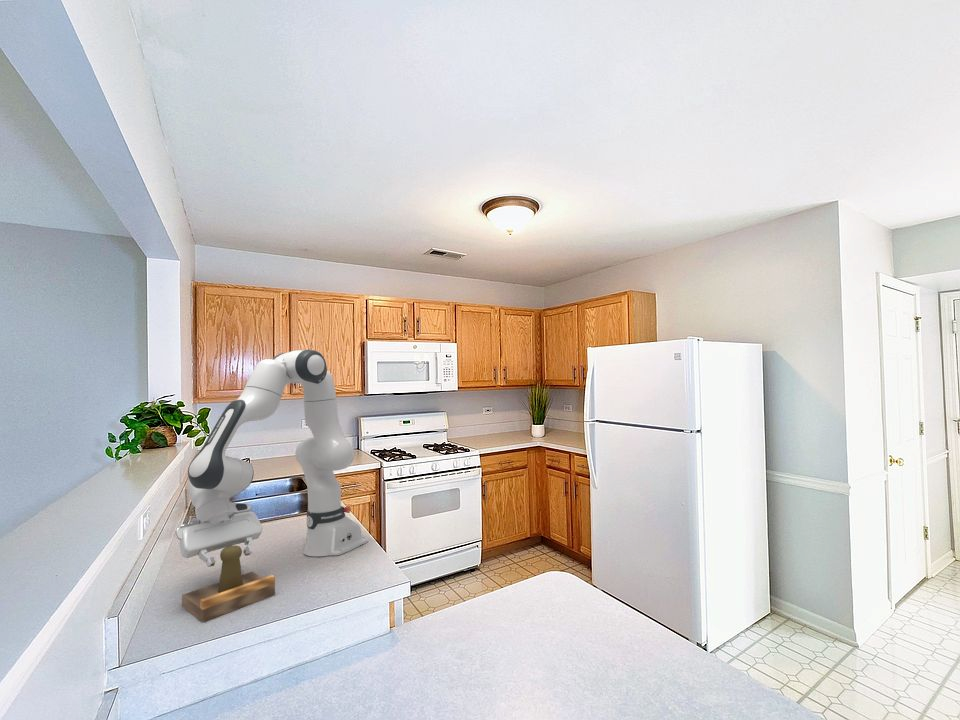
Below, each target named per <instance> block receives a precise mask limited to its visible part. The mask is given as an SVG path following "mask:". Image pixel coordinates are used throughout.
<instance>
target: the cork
mask: <svg viewBox="0 0 960 720" xmlns="http://www.w3.org/2000/svg"><path fill="white" fill-rule="evenodd" d="M242 554H243V550H242V547H241V546H240V545H233V546H229V547H225V548H222V549H221V551H220V554H219V557H220V558H219V559H220V561H222V562H221V569H220V576H219V582H218V583H219V588H218V592H219V593H221V592H224V591H227V590H230V589H233V588H235V587H238V586H241V585H243V579H242V575H243V573H242V566H241V560H240V558H241V556H242Z"/></svg>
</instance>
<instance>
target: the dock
mask: <svg viewBox="0 0 960 720" xmlns="http://www.w3.org/2000/svg"><path fill="white" fill-rule="evenodd" d="M242 579H243V585H241V586H238V587H235V588H233V589H230V590H227V591H224V592H221V593H219V592H218V588H219V582H216V583H214V584H213V583H212V584H211V585H208V586H204V587H202V588H198V589H195V590H192V591H189V592H186V593H184V594H181V607H182V608H183V609H185V610H186V611H187V612H188V613H190V615H192V616H193V617H195V618H196V619H198V621H200V622H201V623H205V622H207V621H211V620H213V619H216V618H218V617H220V616H223V615H225V614H228V613H231V612H234V611H237V610H239V609H242V608H244V607H247V606H250V605H252V604H254V603H257V602H259V601H262V600H264V599H267V598H269V597H270V598H271V597H273V596H275V595H276V576H275V575H273V574H270V575H268V576H265V577H263V576H261V575H259V574H257V573H255V572H253V571H249V572H247V573H244V574H243V573H242Z"/></svg>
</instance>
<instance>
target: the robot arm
mask: <svg viewBox="0 0 960 720" xmlns="http://www.w3.org/2000/svg"><path fill="white" fill-rule="evenodd" d="M288 384H300V386H301V387H302V391H303V396H302V399H303V410H304V421H305V422H304V423H305V425H306V426H307V427H308V429H310V431H311V434H312V435H313V436H312V437H309V438H307V439H304V440H302V441H300V442H299V443H298V444H297V446H296V449H295V452H294V453H295V454H294V455H295V458H296V462H298V463H299V465H300V467H301V468H302V472H303V475H304V479H305V482H306V486H307V487H306V488H307V510H306V528H307V530H306V538H305V542H304V543H305V544H304V548H303V550H302V551H303V554H304V555H305V556H308V557H326V556H327V557H329V556H341V555H343V554H345V553H348V552H350V551H352V550H354V549H356V548H358V547H361V546H362V544H363V545H365V544H367V543H368V542H369V538H368V537H367V536H366V535H363V533H362V529H361V526H360V525H359V523H358V522H356V521H354V520H353V519H351V518H350V517H348V516H346V513H347V514H349V513H351V510H352V509H351V507H350V506H342V491H341V490H342V487H341V483H340V481H338V479H337V478H336V476H335V472H334V471H341V470H345V469H347V468H348V467H350V466H351V464H352V463H353V461H354V458H355V449H354V447H353V445H352V444H351V443H350V442H349V440H348V439H347V438H346V436H345V435H344V431H343V430H342V427H341V423H340V420H339V414H338V401H337V392H336V387H335V383H334V378H333V375H332V373H331V372H330V371H328V366H327V362H326V359H325V357H324V355H323V354H322V353H321V352H319V351H316V350H314V349H302V350H301V349H298V350H292V351H288V352H281V353H278V354H277V355H275V356H273V357H272V358H266V359H262V360H260V361H259V362H258V363H257V364H256V365H255V367H254V368H253V370H252V372H251V373H250V375H249V377H248V379H247V381H246V384H245V386H244V389H243V390H242V392H241V394H240V395H239V396H238V397H237V399H235V400H233V401H231V402H229V404H228V405H227V406H226V407H225V408H224V410H223V412H222V413H221V415H220V416H219V418H218V419H217V421H216V423H215V425H214V427H213V429H211V432H210V434H209V436H208V438H207V439H206V441H205V442H204V444H203V445H202V448H200V450H199V451H198V453H197V454H196V455H195V456H194V458H193V459H192V460H191V462H190V464H189V465H188V468H187V469H188V470H187V477H188V480H187V488H188V494H189V498H190V501H191V504H192V506H193V507H194V509H195V511H194V513H195V517H196V521H192V522H188V523H182V524H181V525H180V526H179V527H177V528H176V530H175V535H176V538H177V540H179V549H180V555H181V557H183V558H185V559H190V558H193V557H197V556H198V558H199V559H200V560H201V561H203V563H206V564H205V565H206V567H207V568H210V567H214V566H215V564H216V560H215V557H214V556H209V555H208V554H207V553H210V552H211V553H212V552H215V551H216V550H223V549H224V548H226V547H229V546H237V545H238V544H239V545H240V544H243V543H244V546H246V547H244V548H243V550H242V554H243V556H244V557H247V556H251V555H252V553H253V550H252V544H253V543H252V542H253V541H254V540H257V539H259V538H260V536H261V534H262V532H263V526H262V523H261V521H260V519H259V518H258V516H257V514H256V513H255V512H253V511H251V510H252V505H251V504H250V503H247V502H246V503H245V502H244V503H243V502H231V501H230V499H231V498H234V497H235V496H237V495H239V494H240V493H242V492H244V491H245V490H246V489H248V487H250V485H251V484H252V482H253V479H254V476H255V475H254V467H253V465H252V463H250V462H249V461H246V460H243V459H240V458H237V457H231V456H229V455H228V456H227V455H226V451H227V449H228V447H229V445H230V444H231V442H232V439H233V438H234V436H235V434H236V432H237V431H238V429H239V428H240V427H241V426H242V425H244V424H245V423H249V422H257V421H262V420H265V419H268V418H270V417H271V416H274V414H275V412H276V411H277V409H278V407H279V404H280V402H281V400H282V395H283V393H284V390H285V387H286V385H288ZM360 545H361V546H360Z"/></svg>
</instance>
